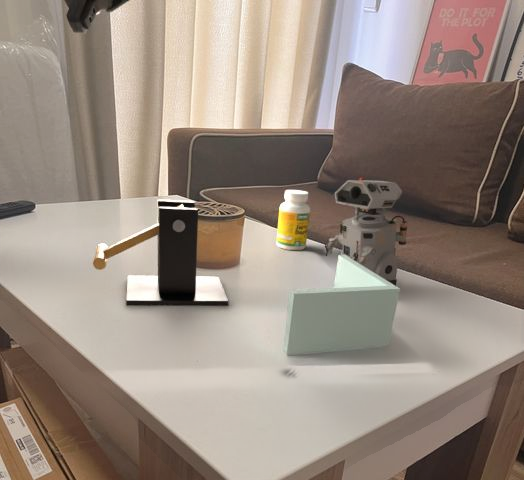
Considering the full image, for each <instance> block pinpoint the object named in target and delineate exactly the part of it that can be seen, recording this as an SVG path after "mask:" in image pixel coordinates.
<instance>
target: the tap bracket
mask: <svg viewBox="0 0 524 480" xmlns="http://www.w3.org/2000/svg"><path fill="white" fill-rule="evenodd" d="M181 204H183V206H184V208H181V207H177V206H179V205H181ZM158 223H159V235H157V275H136V274H135V275H132V274H131V275H129V274H128V275H127V277H126V278H127V279H126V297H125V305H126V306H128V307H129V306H140V307H141V306H142V307H143V306H146V307H147V306H149V307H151V306H157V307H158V306H164V307H165V306H168V307H169V306H171V307H176V306H177V307H179V306H182V307H186V306H187V307H188V306H189V307H192V306H193V307H194V306H195V307H199V306H200V307H205V306H206V307H221V306H222V307H228V306H229V303H230V301H229V298H228V296H227V294H226V291H225V289H224V286H223V284H222V282H221V279H220V277H219V276H202V275H201V276H200V275H199V276H198V275H197V262H198V261H197V259H198V258H197V257H198V233H199V232H198V229H199V209H198V208H197V207H196V202H195V201H194V200H179V199H157V224H158Z"/></svg>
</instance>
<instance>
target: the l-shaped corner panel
mask: <svg viewBox="0 0 524 480" xmlns="http://www.w3.org/2000/svg"><path fill="white" fill-rule="evenodd" d="M336 268H337V269H336ZM336 268H335V275H334V281H333V287H326V288H325V287H324V288H302V289H301V288H300V289H290V290H289V295H288V304H287V311H286V319H285V327H284V337H283V345H282V352H283V353H284V355H286V356H297V355H298V356H299V355H308V354H318V353H319V354H320V353H329V352H341V351H350V350H351V351H352V350H361V349H372V348H385V347H389V342H390V338H391V334H392V330H393V324H394V320H395V315H396V310H397V305H398V301H399V296H400V292H401V288H400V287H398V286H397V285H396V286H395V285H393V284H392V283H390V282H388V281H387V280H385V279H383V278H382V277H380V276H379V275H377V274H375V273H374V272H372V271H370V270H369V269H367V268H366V267H364V266H362V265H361V264H359V263H358V262H356V261H354V260H353V259H351V258H349V257H348V256H346V255H341V254H338V257H337V263H336Z"/></svg>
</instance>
